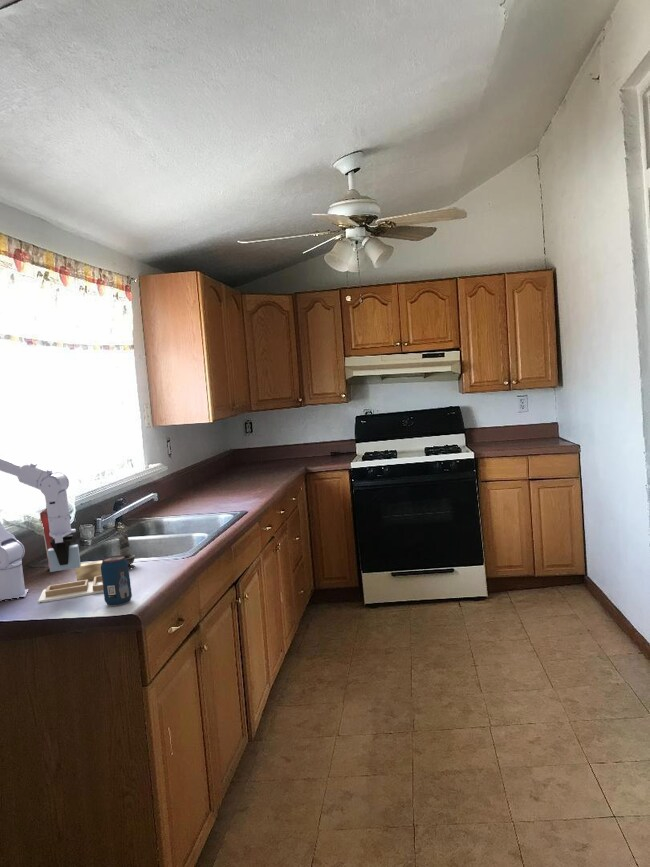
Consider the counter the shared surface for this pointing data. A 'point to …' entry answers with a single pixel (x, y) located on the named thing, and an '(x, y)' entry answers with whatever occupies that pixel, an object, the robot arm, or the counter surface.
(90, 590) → the jig
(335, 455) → the counter surface
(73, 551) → the light blue block
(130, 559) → the salt shaker
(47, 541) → the liquor
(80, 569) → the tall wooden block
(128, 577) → the soda can
